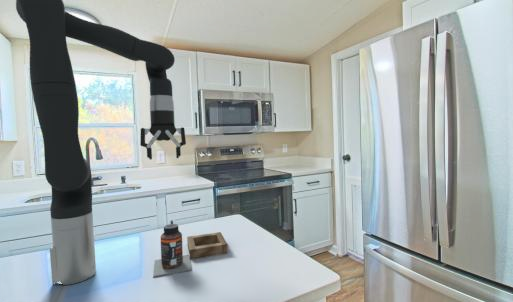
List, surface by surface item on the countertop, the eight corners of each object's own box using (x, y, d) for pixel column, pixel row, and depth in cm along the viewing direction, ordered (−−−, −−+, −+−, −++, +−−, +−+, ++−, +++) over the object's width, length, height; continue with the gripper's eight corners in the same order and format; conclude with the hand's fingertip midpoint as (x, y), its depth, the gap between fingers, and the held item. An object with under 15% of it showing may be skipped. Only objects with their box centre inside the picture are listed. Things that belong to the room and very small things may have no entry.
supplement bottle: (179, 269, 75) (178, 229, 74) (158, 269, 75) (156, 229, 75) (185, 259, 81) (184, 222, 80) (165, 260, 81) (164, 222, 80)
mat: (153, 277, 72) (153, 276, 72) (154, 261, 81) (154, 260, 81) (191, 270, 75) (191, 269, 75) (188, 255, 84) (188, 254, 84)
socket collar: (190, 259, 82) (189, 249, 82) (187, 245, 93) (187, 236, 93) (227, 253, 85) (227, 244, 85) (220, 240, 96) (220, 232, 96)
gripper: (137, 109, 84) (140, 160, 85) (184, 109, 89) (187, 158, 90) (140, 111, 91) (142, 159, 92) (183, 111, 96) (185, 157, 97)
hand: (164, 158), depth 91 cm, fingers open, 8 cm apart
